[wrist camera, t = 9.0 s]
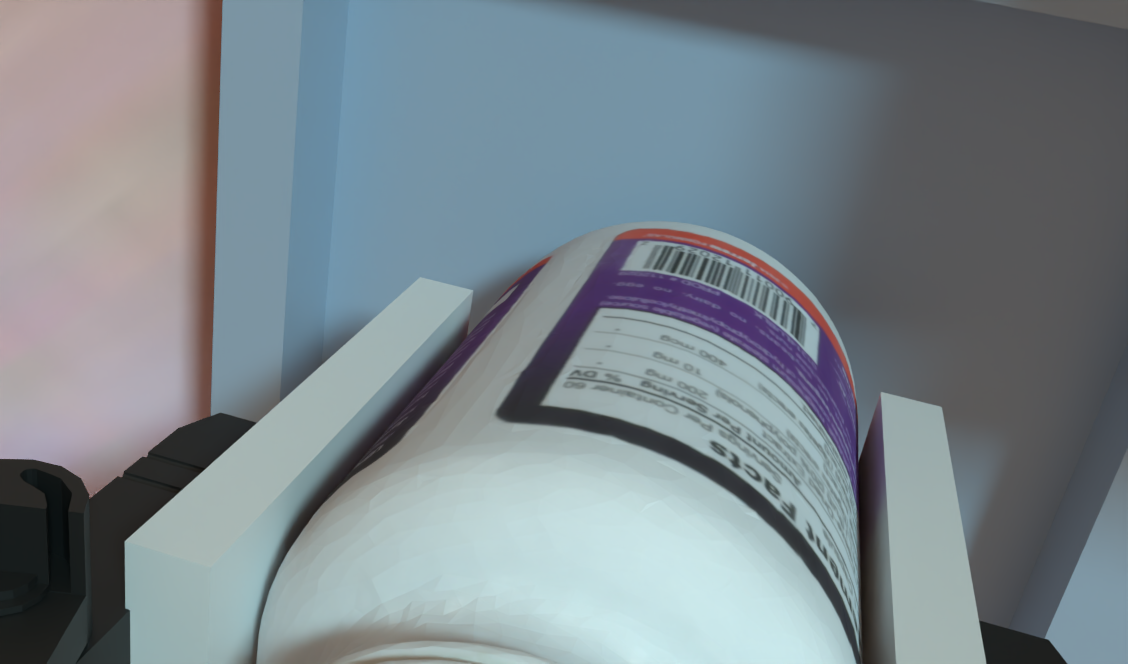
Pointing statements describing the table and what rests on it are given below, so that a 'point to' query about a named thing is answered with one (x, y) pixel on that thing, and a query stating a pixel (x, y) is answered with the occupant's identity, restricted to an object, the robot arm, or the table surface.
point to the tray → (730, 213)
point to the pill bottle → (603, 479)
